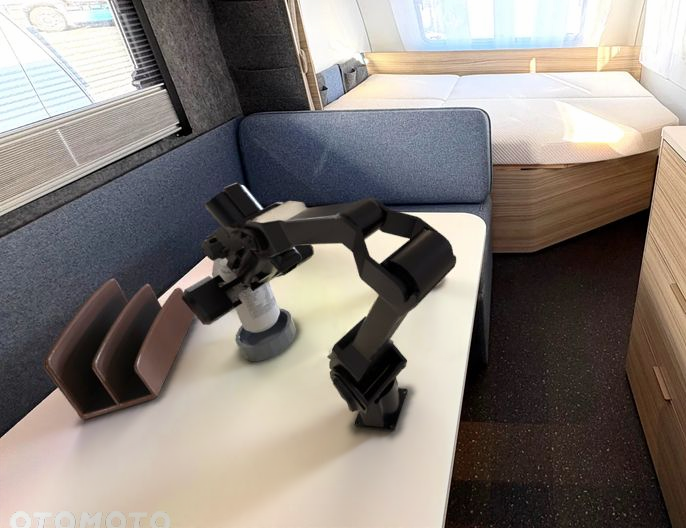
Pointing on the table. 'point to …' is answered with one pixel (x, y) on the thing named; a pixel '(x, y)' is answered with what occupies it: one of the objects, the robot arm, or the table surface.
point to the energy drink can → (253, 303)
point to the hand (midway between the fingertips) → (246, 288)
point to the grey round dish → (267, 339)
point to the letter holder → (117, 349)
